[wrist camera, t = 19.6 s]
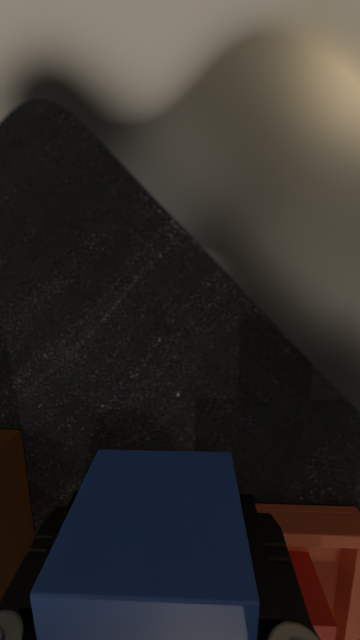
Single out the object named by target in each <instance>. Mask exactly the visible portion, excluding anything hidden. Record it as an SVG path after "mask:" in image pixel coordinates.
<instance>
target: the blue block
mask: <svg viewBox="0 0 360 640" xmlns="http://www.w3.org/2000/svg"><path fill="white" fill-rule="evenodd" d="M30 600H31V607H32V613H33V620H34V626H35V633H36V639H37V640H257V636H258V621H259V606H260V602H259V596H258V591H257V586H256V581H255V575H254V570H253V565H252V559H251V554H250V549H249V544H248V538H247V533H246V528H245V523H244V517H243V512H242V507H241V501H240V496H239V491H238V486H237V480H236V475H235V470H234V464H233V459H232V454H231V452H206V451H152V450H98V451H97V453H96V455H95V458H94V460H93V462H92V464H91V466H90V468H89V470H88V472H87V474H86V477H85V479H84V481H83V483H82V485H81V487H80V489H79V491H78V493H77V496H76V498H75V500H74V502H73V504H72V506H71V508H70V510H69V512H68V515H67V517H66V519H65V521H64V523H63V525H62V527H61V529H60V531H59V534H58V536H57V538H56V540H55V542H54V544H53V546H52V548H51V550H50V553H49V555H48V557H47V559H46V561H45V563H44V565H43V567H42V569H41V572H40V574H39V576H38V578H37V580H36V582H35V584H34V586H33V588H32V591H31V593H30Z"/></svg>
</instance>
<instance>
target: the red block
mask: <svg viewBox="0 0 360 640" xmlns="http://www.w3.org/2000/svg"><path fill="white" fill-rule="evenodd" d="M289 554H290V557H291V562H292V564H293V567H294V570H295V573H296V576H297V579H298V583H299V586H300V589H301V592H302V595H303V598H304V601H305V605H306V608H307V611H308V614H309V617H310V620H311V623H312V625H313V627H314V629H315V631H316V633H317V635H318V636H319V638H320V639H321V640H335V639H336V632H337V625H336V622H335V619H334V617H333V614H332V612H331V609H330V607H329V604H328V601H327V599H326V596H325V594H324V591H323V588H322V586H321V583H320V581H319V578H318V575H317V573H316V570H315V568H314V565H313V562H312V560H311V557H310V555H309V552H299V551H289Z"/></svg>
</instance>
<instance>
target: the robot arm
mask: <svg viewBox="0 0 360 640" xmlns="http://www.w3.org/2000/svg"><path fill="white" fill-rule="evenodd" d="M78 491H79V490H76V491H75V492H74V494H73V496H72V498H71V500H70V502H69V504H68V506H67V507H57V508H56V509H55V510H54V511H53V512H52V513H51V514H50V515H49V516H48V517H47V518H46V519H45V520H44V522H43V524H42V526H41V528H40V530H39V531H38V533H37V535H36V539H34V540H33V542H32V544H31V546H30V548H29V551H28V553H26V555H25V557H24V559H23V561H22V562H21V564H20V566H19V568H18V570H17V572H16V573H15V575H14V577H13V579H12V581H11V583H10V584H9V586H8V588H7V590H6V592H5V593H4V595H3V597H2V599H1V601H0V640H37V639H36V633H35V626H34V620H33V613H32V607H31V600H30V593H31V591H32V588H33V586H34V584H35V582H36V580H37V578H38V576H39V574H40V572H41V569H42V567H43V565H44V563H45V561H46V559H47V557H48V555H49V553H50V550H51V548H52V546H53V544H54V542H55V540H56V538H57V536H58V534H59V531H60V529H61V527H62V525H63V523H64V521H65V519H66V517H67V515H68V512H69V510H70V508H71V506H72V504H73V502H74V500H75V498H76V496H77V493H78ZM239 496H240V501H241V507H242V512H243V517H244V523H245V528H246V533H247V538H248V544H249V549H250V554H251V559H252V565H253V570H254V575H255V581H256V586H257V591H258V596H259V602H260V606H259V621H258V636H257V640H321V639H320V638H319V636H318V635H317V633H316V631H315V629H314V627H313V625H312V623H311V620H310V617H309V614H308V611H307V608H306V605H305V601H304V598H303V595H302V592H301V589H300V586H299V583H298V579H297V576H296V573H295V570H294V567H293V564H292V562H291V557H290V554H289V551H288V548H287V546H286V542H285V538H284V535H283V532H282V529H281V527H280V525H279V524H278V523H277V521H276V520H275V519H274V518H273V516H272V515H271V514H270V513H257V510H256V506H255V502H254V498H253V495H251V494H239Z"/></svg>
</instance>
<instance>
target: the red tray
mask: <svg viewBox="0 0 360 640" xmlns="http://www.w3.org/2000/svg"><path fill="white" fill-rule="evenodd" d="M255 506H256V510H257V513H270V514H271V515H272V516H273V518H274V519H275V520H276V521H277V523H278V524H279V525H280V527H281V529H282V532H283V535H284V538H285V542H286V546H287V548H288V551H299V552H309V555H310V557H311V560H312V562H313V565H314V568H315V570H316V573H317V575H318V578H319V581H320V583H321V586H322V588H323V591H324V594H325V596H326V599H327V601H328V604H329V607H330V609H331V612H332V614H333V617H334V619H335V622H336V625H337V632H336V639H335V640H359V638H360V512H359V511H358V509H357V507H356V506H325V505H292V504H258V503H255Z"/></svg>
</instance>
